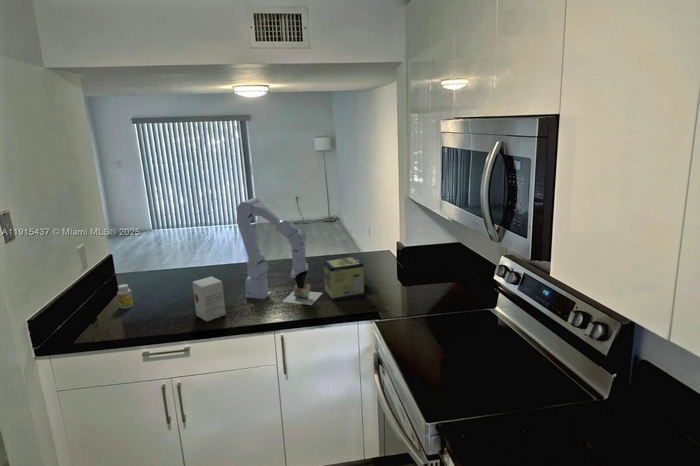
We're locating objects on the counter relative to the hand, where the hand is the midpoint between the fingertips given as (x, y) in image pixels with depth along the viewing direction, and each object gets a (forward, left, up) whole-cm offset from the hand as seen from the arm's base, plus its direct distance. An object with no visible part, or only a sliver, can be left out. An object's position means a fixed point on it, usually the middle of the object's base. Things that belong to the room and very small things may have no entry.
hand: (300, 287), depth 200 cm
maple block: (0, 0, -4) cm, 4 cm away
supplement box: (-30, -24, -6) cm, 39 cm away
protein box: (+17, +10, -6) cm, 20 cm away
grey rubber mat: (0, +2, -5) cm, 6 cm away
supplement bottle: (-72, -25, -6) cm, 77 cm away
